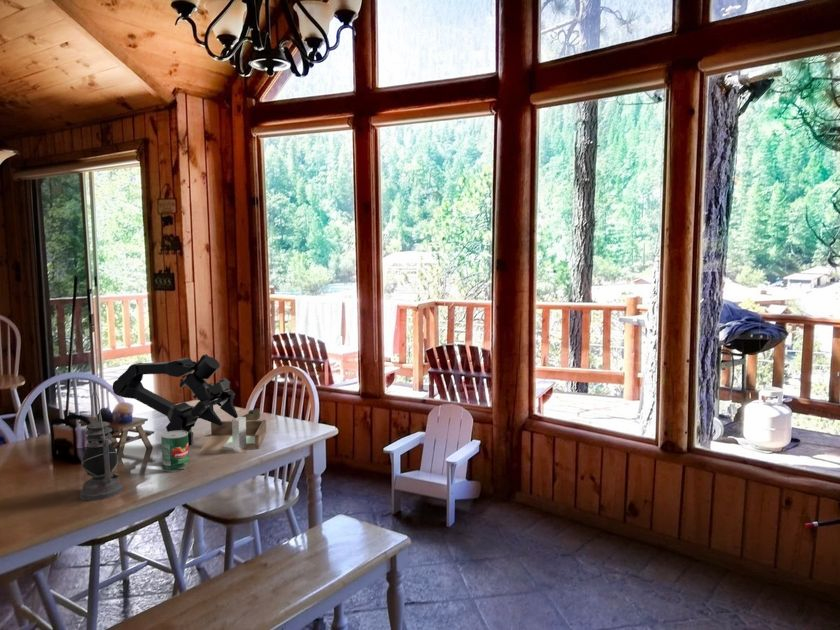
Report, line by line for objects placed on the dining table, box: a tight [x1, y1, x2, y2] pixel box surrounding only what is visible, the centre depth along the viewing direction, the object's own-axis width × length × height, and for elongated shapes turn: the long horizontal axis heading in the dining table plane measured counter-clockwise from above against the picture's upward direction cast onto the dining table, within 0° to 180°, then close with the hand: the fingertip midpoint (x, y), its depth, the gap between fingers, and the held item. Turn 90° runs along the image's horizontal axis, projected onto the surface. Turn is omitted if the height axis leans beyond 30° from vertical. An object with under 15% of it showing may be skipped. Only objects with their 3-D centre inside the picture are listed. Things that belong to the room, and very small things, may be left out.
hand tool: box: [241, 408, 261, 420], centre depth 228 cm, size 19×4×5 cm, turn 157°
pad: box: [226, 436, 255, 444], centre depth 205 cm, size 10×8×1 cm
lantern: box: [79, 389, 123, 501], centre depth 161 cm, size 12×11×30 cm
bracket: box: [222, 416, 246, 452], centre depth 195 cm, size 7×4×11 cm
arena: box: [196, 419, 267, 455], centre depth 202 cm, size 20×21×6 cm
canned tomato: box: [160, 430, 190, 473], centre depth 181 cm, size 8×8×11 cm
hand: (229, 421), depth 195 cm, fingers open, 9 cm apart
